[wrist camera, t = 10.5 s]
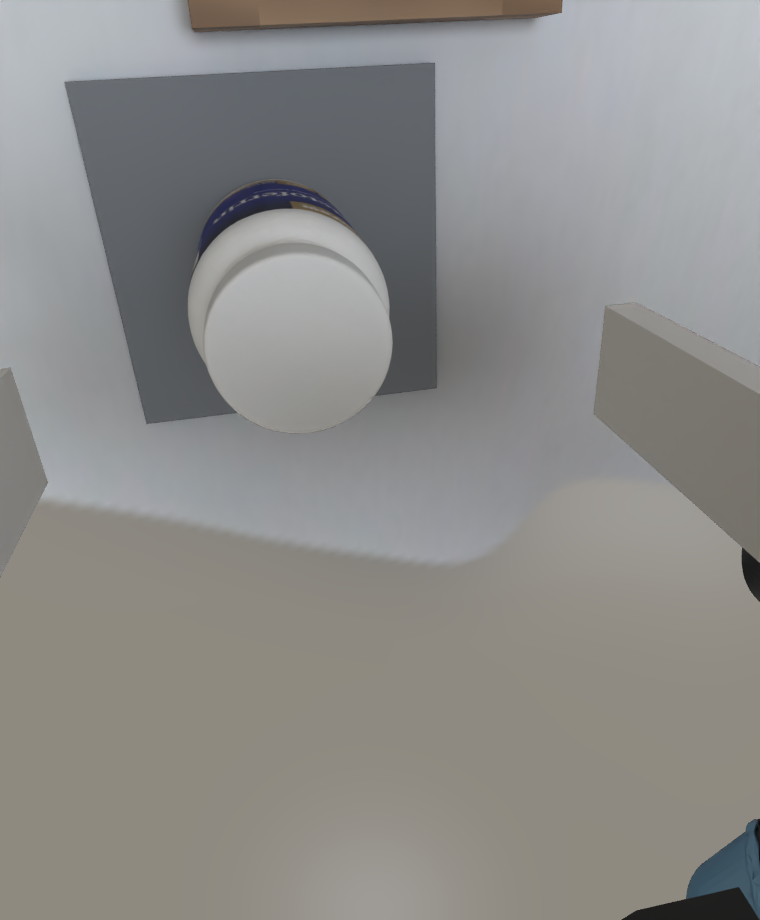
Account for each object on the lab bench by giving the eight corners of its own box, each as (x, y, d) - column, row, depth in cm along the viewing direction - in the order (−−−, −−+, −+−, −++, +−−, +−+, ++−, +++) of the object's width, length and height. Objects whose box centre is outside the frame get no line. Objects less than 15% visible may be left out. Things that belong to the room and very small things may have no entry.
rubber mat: (433, 383, 30) (436, 387, 29) (147, 418, 28) (146, 423, 27) (430, 63, 24) (434, 62, 23) (67, 82, 22) (64, 81, 21)
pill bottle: (351, 174, 24) (418, 226, 16) (355, 328, 27) (414, 443, 19) (186, 179, 23) (162, 237, 15) (207, 338, 26) (198, 464, 18)
